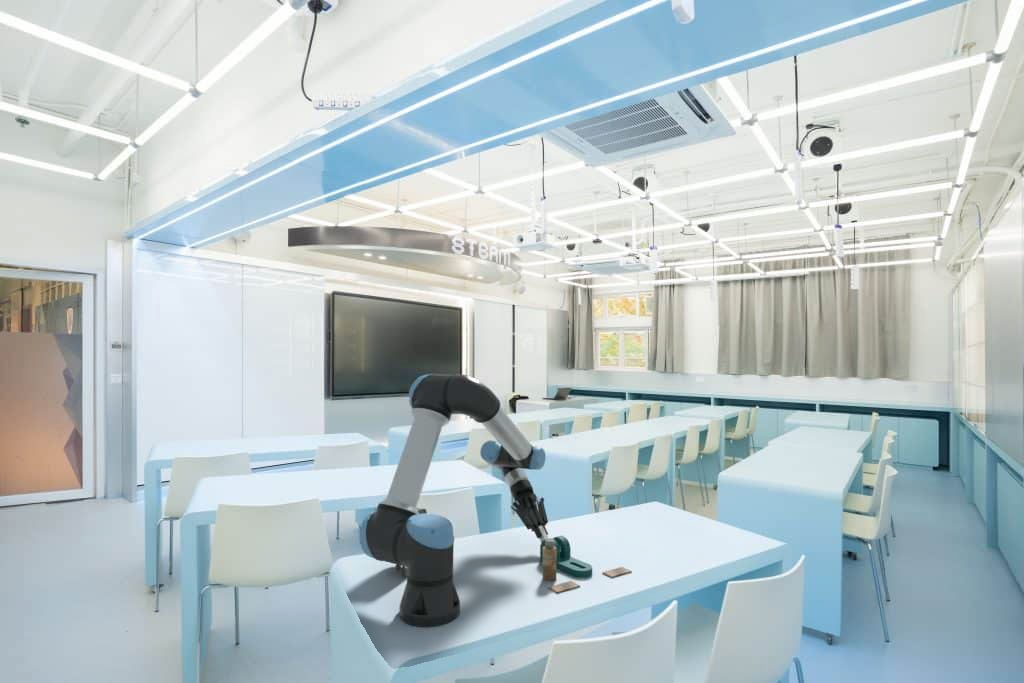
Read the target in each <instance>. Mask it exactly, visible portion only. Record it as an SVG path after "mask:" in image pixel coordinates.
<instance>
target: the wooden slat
mask: <svg viewBox="0 0 1024 683" xmlns="http://www.w3.org/2000/svg"><path fill="white" fill-rule="evenodd" d="M632 572H633V571H632V570H631V569H628V568H626V567H624V566H621V567H616V568H614V569H613V568H612V569H609V570H605V571H603V572H602V574H603V575H604V576H607V577H609V578H611V579H613V578H617V577H620V576H623V575H627V574H630V573H632ZM578 588H581V585H579V584H578V583H576V582H574V581H572V580H569V581H565V582H561V583H558V584H554V585H551V586H548V589H549V590H550V591H552V592H554V593H556V594H560V593H563V592H568V591H571V590H574V589H578Z"/></svg>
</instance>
